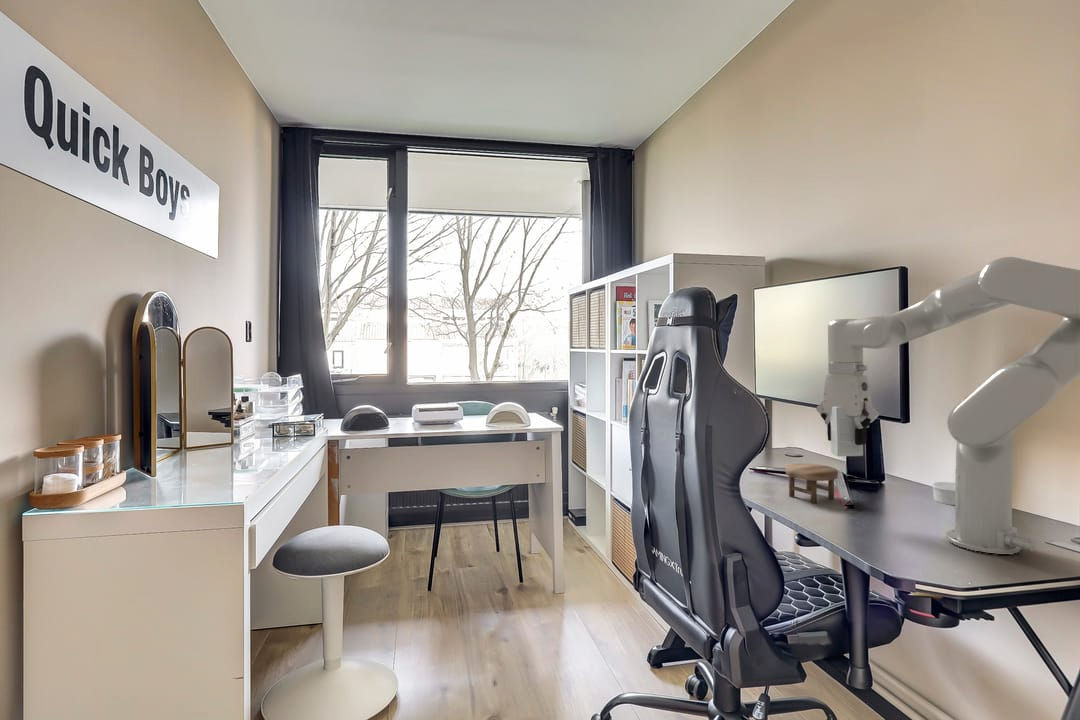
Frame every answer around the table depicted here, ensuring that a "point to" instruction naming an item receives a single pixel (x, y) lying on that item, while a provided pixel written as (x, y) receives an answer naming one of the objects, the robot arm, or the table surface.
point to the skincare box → (843, 434)
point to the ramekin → (944, 492)
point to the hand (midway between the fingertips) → (846, 441)
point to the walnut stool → (811, 479)
